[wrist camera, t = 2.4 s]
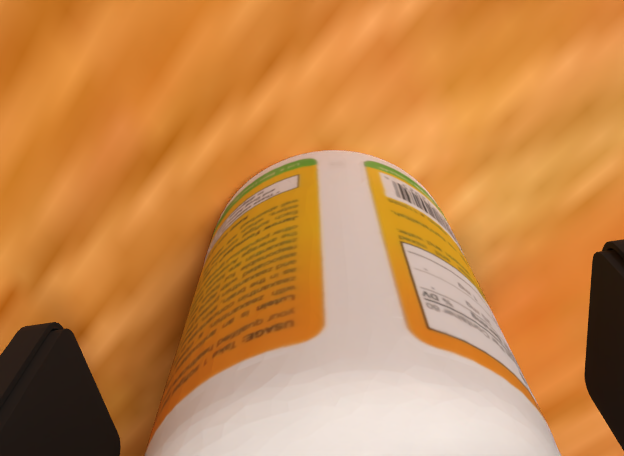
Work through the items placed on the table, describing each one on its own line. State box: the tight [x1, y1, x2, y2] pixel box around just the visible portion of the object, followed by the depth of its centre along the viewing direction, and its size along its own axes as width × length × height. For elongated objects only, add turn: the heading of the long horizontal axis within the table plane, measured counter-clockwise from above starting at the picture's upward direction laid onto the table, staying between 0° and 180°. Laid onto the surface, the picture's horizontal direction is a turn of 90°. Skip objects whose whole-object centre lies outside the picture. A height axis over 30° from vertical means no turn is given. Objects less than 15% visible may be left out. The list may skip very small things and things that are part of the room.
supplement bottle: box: [144, 150, 561, 456], centre depth 9 cm, size 5×5×10 cm
